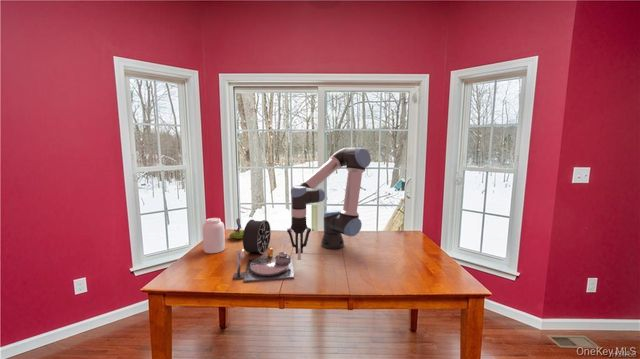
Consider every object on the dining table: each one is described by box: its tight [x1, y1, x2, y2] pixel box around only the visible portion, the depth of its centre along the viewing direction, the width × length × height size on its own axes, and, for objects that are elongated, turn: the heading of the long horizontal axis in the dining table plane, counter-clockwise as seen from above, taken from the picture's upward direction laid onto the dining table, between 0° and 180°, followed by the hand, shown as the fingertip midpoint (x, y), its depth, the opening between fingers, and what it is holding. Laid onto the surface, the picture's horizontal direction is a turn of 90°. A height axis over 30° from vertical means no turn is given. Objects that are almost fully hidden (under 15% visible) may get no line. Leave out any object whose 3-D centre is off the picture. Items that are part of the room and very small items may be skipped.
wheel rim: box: [242, 219, 272, 255], centre depth 164 cm, size 20×9×20 cm, turn 168°
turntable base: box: [243, 256, 295, 283], centre depth 142 cm, size 24×24×1 cm
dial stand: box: [232, 249, 246, 280], centre depth 133 cm, size 5×5×14 cm
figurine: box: [228, 217, 244, 240], centre depth 188 cm, size 14×13×15 cm
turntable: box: [250, 246, 289, 276], centre depth 141 cm, size 20×20×7 cm
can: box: [202, 217, 226, 254], centre depth 166 cm, size 12×12×20 cm
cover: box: [275, 251, 292, 266], centre depth 142 cm, size 8×8×5 cm
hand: (299, 258), depth 143 cm, fingers closed
